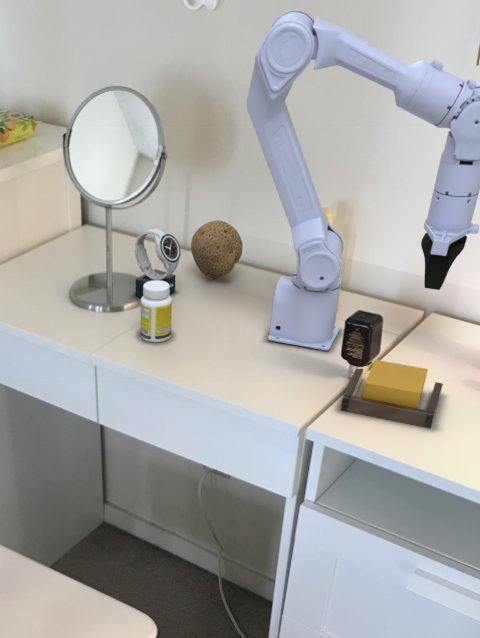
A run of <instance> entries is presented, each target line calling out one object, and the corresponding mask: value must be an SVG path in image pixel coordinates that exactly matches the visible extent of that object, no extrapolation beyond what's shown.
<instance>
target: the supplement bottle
mask: <svg viewBox="0 0 480 638" xmlns="http://www.w3.org/2000/svg"><path fill="white" fill-rule="evenodd" d="M169 294H170V286H169V284H168V283H167V282H165V281H159V280H154V281H149V282H146V283H145V284H144V285H143V296H142V298H140V337H141V339H142V340H144V341H145V342H147V343H148V342H149V343H162V342H166V341H168V340H169V339H170V338H171V336H172V312H173V311H172V310H173V309H172V308H173V302H172V301H173V299H172V297H171V295H169Z"/></svg>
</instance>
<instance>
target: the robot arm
mask: <svg viewBox="0 0 480 638" xmlns="http://www.w3.org/2000/svg"><path fill="white" fill-rule="evenodd" d="M313 60H314V66H313V70H314V71H316V70H322V69H325V68H326V69H327V68H331V67H335V66H338V67H341V68H344V69H346V70H348V71H350V72H352V73H354V74H356V75H358V76H360V77H363V78H365V79H366V80H369V81H371V82H374V83H375V84H378V85H380V86H382V87H384V88H386V89H388V90H391V91H392V93H393V96H394V102H395V105H396V107H398V108H400V109H402V110H404V111H406V112H408V113H409V114H411V115H414V116H415V117H417V118H419V119H421V120H423V121H425V122H427V123H428V124H430V125H432V126H434V127H436V128H438V129H448V130H449V131H448V132H447V137H446V140H445V144H444V148H443V151H442V152H441V155H440V161H439V164H438V169H437V173H436V178H435V181H434V187H433V191H432V195H431V199H430V204H429V208H428V211H427V212H428V213H427V217H426V219H425V220H424V223H423V229H424V230H425V233H424V235H423V236H422V239H421V241H420V247H421V251H422V253H423V258H424V259H423V260H424V279H423V280H424V283H423V284H424V288H425V289H429V290H436V291H440V290H441V288H442V287H443V285H444V283H445V281H446V278H447V276H448V273H449V271H450V269H451V267H452V265H453V263H454V262H455V260H456V259H457V257H458V256H460V255H461V254H462V252H463V250H464V249H465V247H466V243H467V239H468V236H467V235H469V234H472V235H476V234H478V233H479V229H480V224H477V223H472V221H473V217H474V213H475V210H476V205H477V202H478V198H479V194H480V85H477V82H476V81H475V80H473V79H471V78H469V79H468V80H466V81H465V80H463V79H461V78H460V77H457V76H456V75H454V74H452V73H451V72H448V71H446V70H444V69H443V67H444V63H443V62H442V61H440V60H438V59H436V58H434V59H432V61H431V62H429V61H427V60H426V59H420V60H418V61H415V62H412V63H409V64H407V63H405V62H403V61H402V60H399V59H398V58H397V57H395V56H393V55H391V54H389V53H388V52H386V51H384V50H383V49H380V47H377V46H375V45H374V44H372V43H371V42H369V41H367V40H366V39H363V38H362V37H360V36H358V35H356V34H355V33H353V32H352V31H349V30H348V29H346V28H344V27H343V26H340V25H339V24H336V23H334V22H332V21H330V20H327V19H325V18H322V17H318V16H315V19H314V17H312V16H311V15H310V14H309V13H308V12H307V11H304V10H301V9H291V10H287V11H285V12H284V13H282V14H280V15H279V16H278V17H276V19H275V20H274V21H273V23H272V25H271V27H270V29H269V30H268V32H267V33H266V35H265V37H264V39H263V41H262V43H261V44H260V46H259V48H258V50H257V52H256V53H255V57H254V64H253V69H252V74H251V79H250V84H249V89H248V94H247V98H246V108H247V112H248V115H249V118H250V120H251V124H252V126H253V128H254V132H255V134H256V137H257V140H258V142H259V146H260V149H261V151H262V153H263V156H264V158H265V162H266V164H267V167H268V170H269V173H270V175H271V178H272V181H273V183H274V186H275V189H276V191H277V194H278V198H279V199H280V202H281V206H282V208H283V211H284V213H285V216H286V219H287V221H288V224H289V227H290V230H291V236H292V242H293V247H294V248H293V249H294V252H295V254H296V258H297V259H296V260H297V261H296V263H297V264H296V267H295V269H296V270H295V272H294V273H293V274H292V276H288V275H287V276H286V275H284V276H283V275H281V277H279V279H278V281H277V284H276V287H275V290H274V294H273V300H272V306H271V307H272V308H271V317H270V325H269V335H268V336H267V340H268V341H271V342H276V343H283V344H288V345H294V346H299V347H305V348H310V349H315V350H322V351H329V350H330V349H331V347H332V345H333V344H334V342H335V340H336V338H337V336H338V334H339V332H340V329H341V328H340V326H336V319H337V313H338V306H339V301H340V297H341V289H342V283H343V278H342V277H341V275H342V271H343V262H342V257H343V252H344V240H343V237H342V236H341V234H340V233H339V232H338V231H337V230H335V229H334V228H333V226H332V225H331V223H330V221H329V218H328V215H327V214H326V212H325V211H324V210H323V207H322V205H321V202H320V199H319V196H318V193H317V190H316V187H315V184H314V182H313V181H314V180H313V179H312V176H311V172H310V171H309V167H308V164H307V161H306V158H305V154H304V152H303V150H302V146H301V143H300V141H299V138H298V136H297V131H296V130H295V129H296V128H295V125H294V124H293V121H292V118H291V114H290V111H289V109H288V105H287V103H286V100H287V98H288V95H289V93H290V91H291V89H292V87H293V84H294V83H295V81H296V80H297V79H298V77H299V76H301V74H302V73H303V72H304V71H305V70H306V68H307V67H308V66H309V64H310V63H311V61H313Z"/></svg>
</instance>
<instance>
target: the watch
mask: <svg viewBox="0 0 480 638" xmlns="http://www.w3.org/2000/svg"><path fill="white" fill-rule="evenodd" d="M147 235H152V238H153V241H154V248H155V249H154V250H155V254H156V257H157V259H158V260H159V261H160V262H161V263H162V265H163V267H164V269H165V270H166V271H163V270H160V269H157V268H155V269H153V268H152V263H151V261H150V259H149V256H148V252H147V248H146V247H145V239H146V237H147ZM181 252H182V250H181V245H180V242H179V241H178V239H177V238H176V237H175V236H174V234H172V233H169V232H168V231H167V230H164V229H163V228H158V227H154V228H151V229H148V230H146V231H144V232H141V233H140V234H139V235H138V236H137V238H136V240H135V243H134V257H135V260H136V262H137V265H138V267H139V269H140V271H141V273H143V275H140V276H139V277H137V278H135V297H136V298H139V299H141V298H142V296H143V285H144V284H145V283H146V282H149V281H154V280H159V281H165V282H167V283H168V284H169V286H170V294H169V296H171V295H173V294H174V293H176V276H177V275H176V274H174V272H175V271H176V269H177V268H178V266H179V264H180V258H181V254H182V253H181Z"/></svg>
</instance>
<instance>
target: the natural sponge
mask: <svg viewBox="0 0 480 638" xmlns="http://www.w3.org/2000/svg"><path fill="white" fill-rule="evenodd" d="M242 240H243V239H242V237H241V235H240V233H239V232H238V230H237V229H236V228H235V227H234V226H232V225H231V224H230V223H228V222H226V221H223V220H220V219H219V220H218V219H215V220H211V221H208V222H206V223H204V224H203V225H202V226H200V227H199V228H197V230H196V231H195V232H194V233H193V235H192V238H191V243H190V250H191V254H192V258H193V260H194V264H195V265H196V267H197V269H198V270H199V271H200V273H202V275H204V276H205V277H206V278H208V279H211V280H219V279H221V278H222V277H224V276H228V274H230V273H231V272H232V271H233V270H234V268H235V266H236V264H237V263H238V262H240V259H241V257H242V254H243V241H242Z"/></svg>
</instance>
